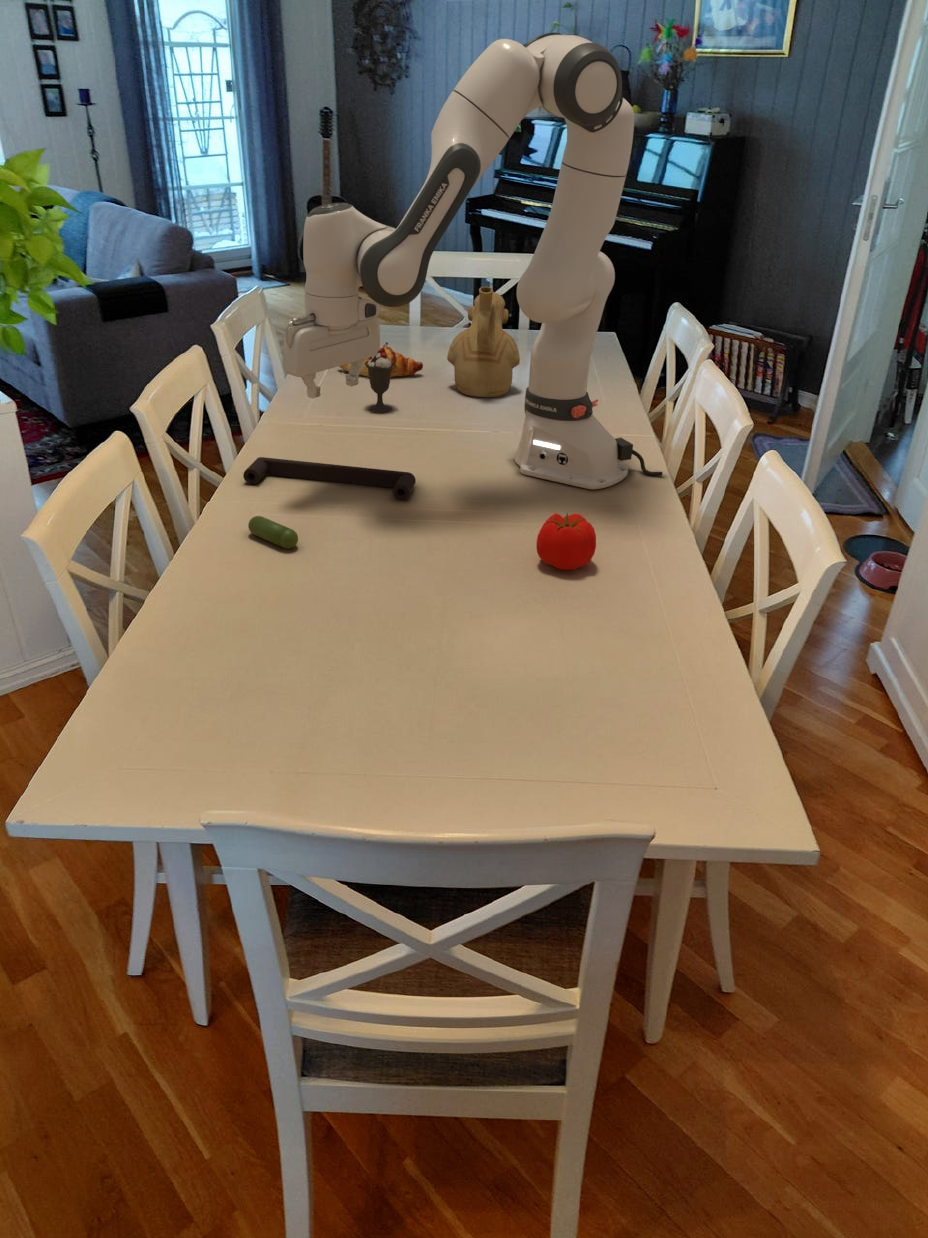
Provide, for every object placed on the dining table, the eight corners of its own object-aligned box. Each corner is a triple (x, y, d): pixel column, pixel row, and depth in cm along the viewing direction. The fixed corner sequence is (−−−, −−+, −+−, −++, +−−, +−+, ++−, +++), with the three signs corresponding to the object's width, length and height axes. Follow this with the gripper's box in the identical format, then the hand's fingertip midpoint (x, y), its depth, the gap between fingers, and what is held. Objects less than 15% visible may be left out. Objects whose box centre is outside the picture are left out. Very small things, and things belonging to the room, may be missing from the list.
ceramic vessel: (519, 380, 229) (527, 273, 216) (514, 405, 212) (522, 292, 199) (451, 375, 230) (454, 269, 217) (440, 400, 213) (444, 286, 200)
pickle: (302, 547, 148) (301, 529, 146) (288, 554, 146) (286, 535, 144) (259, 528, 153) (258, 510, 151) (244, 535, 151) (243, 517, 149)
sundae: (394, 414, 204) (394, 345, 196) (363, 413, 204) (362, 343, 196) (396, 404, 209) (396, 337, 202) (366, 403, 209) (365, 335, 202)
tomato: (578, 547, 152) (583, 505, 148) (601, 572, 145) (607, 529, 141) (524, 553, 149) (528, 510, 146) (545, 579, 142) (550, 535, 138)
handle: (244, 483, 168) (242, 468, 167) (255, 470, 174) (254, 455, 172) (408, 501, 165) (409, 485, 163) (415, 487, 170) (416, 472, 169)
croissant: (336, 387, 229) (331, 363, 222) (341, 358, 234) (337, 333, 227) (422, 390, 228) (420, 366, 221) (425, 361, 233) (424, 336, 226)
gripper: (299, 323, 146) (302, 409, 153) (386, 303, 160) (385, 382, 168) (271, 315, 149) (276, 399, 157) (359, 296, 163) (359, 374, 171)
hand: (333, 390), depth 162 cm, fingers open, 8 cm apart
